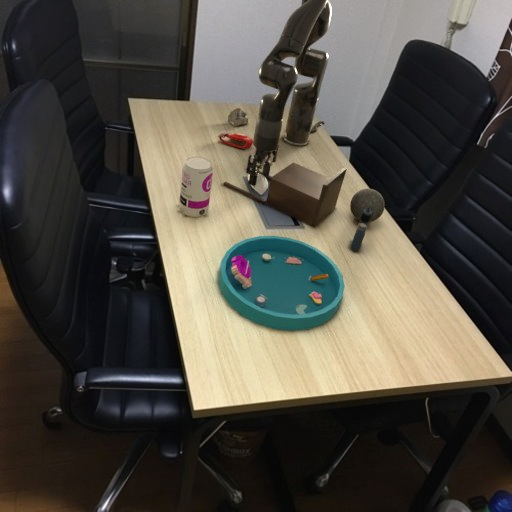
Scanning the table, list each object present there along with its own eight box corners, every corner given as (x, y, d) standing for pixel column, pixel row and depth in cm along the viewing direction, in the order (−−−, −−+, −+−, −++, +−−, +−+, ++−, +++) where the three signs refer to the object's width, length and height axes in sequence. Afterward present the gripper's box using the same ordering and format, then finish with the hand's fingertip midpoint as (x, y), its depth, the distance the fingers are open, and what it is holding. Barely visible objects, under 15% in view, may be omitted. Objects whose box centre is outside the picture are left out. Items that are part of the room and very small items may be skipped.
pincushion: (244, 174, 163) (246, 159, 160) (262, 175, 165) (265, 160, 162) (251, 195, 155) (254, 179, 151) (270, 195, 156) (273, 179, 153)
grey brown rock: (227, 121, 194) (229, 104, 190) (246, 122, 197) (249, 105, 193) (229, 126, 191) (232, 109, 187) (249, 127, 194) (252, 109, 190)
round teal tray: (219, 242, 134) (221, 224, 130) (329, 253, 138) (334, 235, 134) (218, 325, 110) (221, 306, 107) (351, 335, 114) (358, 316, 111)
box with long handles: (249, 169, 168) (256, 129, 159) (335, 208, 157) (347, 168, 149) (223, 185, 157) (229, 144, 148) (313, 228, 146) (325, 186, 138)
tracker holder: (242, 132, 186) (260, 137, 180) (240, 144, 188) (257, 150, 181) (216, 129, 178) (233, 135, 171) (214, 142, 180) (231, 148, 173)
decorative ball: (349, 206, 159) (358, 178, 153) (380, 216, 157) (391, 188, 151) (343, 222, 151) (352, 193, 145) (375, 232, 150) (386, 204, 144)
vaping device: (361, 243, 144) (374, 207, 137) (358, 253, 140) (371, 217, 133) (352, 240, 144) (364, 205, 137) (349, 250, 140) (361, 214, 133)
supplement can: (213, 208, 146) (219, 162, 137) (198, 221, 140) (204, 173, 130) (188, 198, 148) (193, 152, 139) (173, 211, 142) (176, 163, 132)
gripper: (266, 143, 142) (256, 193, 152) (290, 128, 152) (280, 176, 162) (243, 133, 145) (236, 183, 155) (269, 120, 155) (260, 167, 165)
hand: (258, 180), depth 158 cm, fingers closed on pincushion, 7 cm apart
